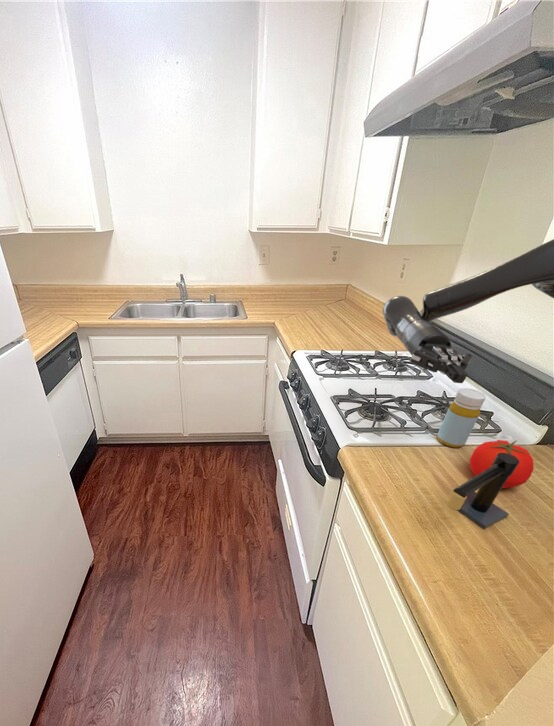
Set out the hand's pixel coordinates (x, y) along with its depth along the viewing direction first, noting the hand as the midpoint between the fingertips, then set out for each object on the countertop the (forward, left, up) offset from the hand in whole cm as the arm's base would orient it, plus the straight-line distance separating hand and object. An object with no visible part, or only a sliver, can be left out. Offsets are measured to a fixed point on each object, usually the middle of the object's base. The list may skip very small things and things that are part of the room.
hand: (461, 378), depth 67 cm
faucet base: (-5, +12, -27) cm, 30 cm away
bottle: (-24, -8, -27) cm, 37 cm away
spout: (+2, +12, -18) cm, 22 cm away
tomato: (-18, +7, -27) cm, 33 cm away
